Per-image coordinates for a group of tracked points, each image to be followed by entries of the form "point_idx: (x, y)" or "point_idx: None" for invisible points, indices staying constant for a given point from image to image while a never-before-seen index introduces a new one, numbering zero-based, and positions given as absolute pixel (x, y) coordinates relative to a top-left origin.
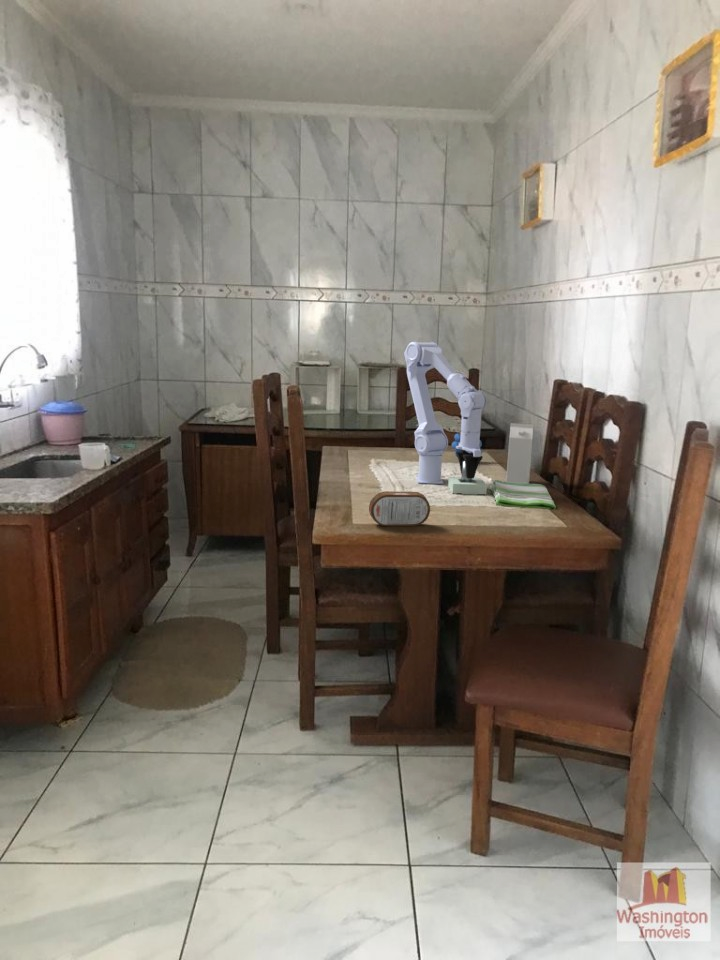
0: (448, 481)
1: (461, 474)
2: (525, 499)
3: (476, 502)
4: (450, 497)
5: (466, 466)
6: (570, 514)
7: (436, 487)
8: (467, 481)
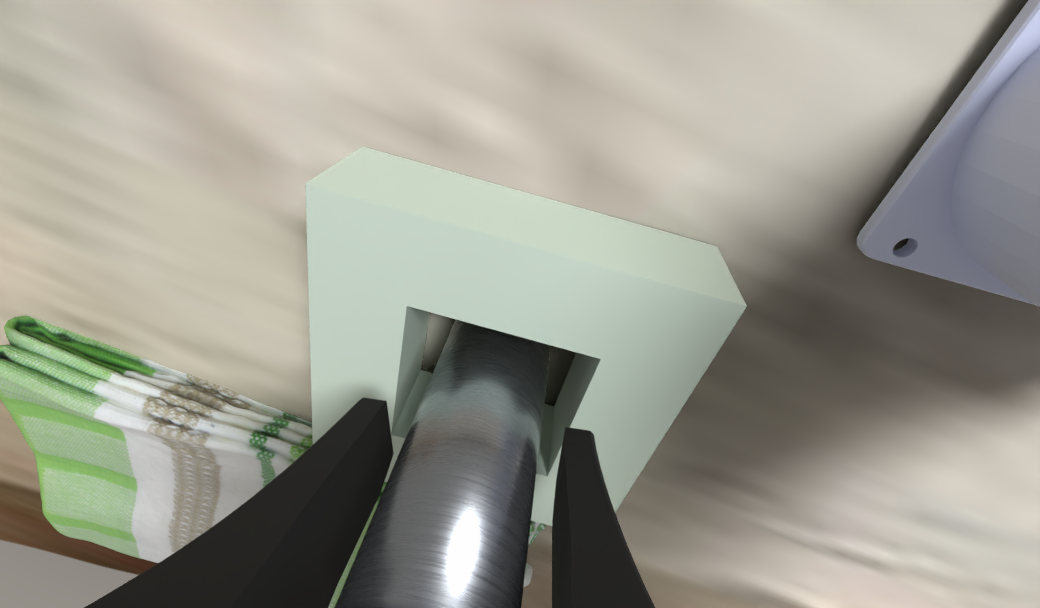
0: (711, 271)
1: (585, 430)
2: (155, 497)
3: (56, 220)
4: (182, 42)
5: (250, 515)
6: (3, 517)
7: (730, 85)
8: (428, 384)
